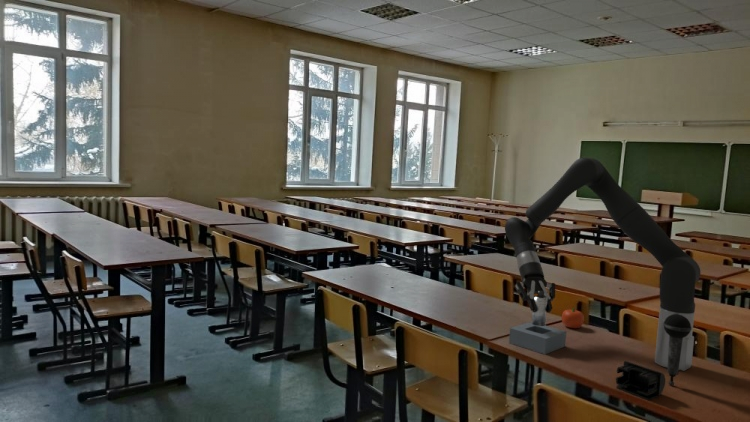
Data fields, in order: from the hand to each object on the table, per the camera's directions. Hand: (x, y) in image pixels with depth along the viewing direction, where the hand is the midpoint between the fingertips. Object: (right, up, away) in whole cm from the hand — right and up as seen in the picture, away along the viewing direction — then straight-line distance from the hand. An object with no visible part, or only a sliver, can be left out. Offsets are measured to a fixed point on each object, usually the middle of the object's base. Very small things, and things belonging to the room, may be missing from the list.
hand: (542, 311), depth 177 cm
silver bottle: (-1, -5, +2) cm, 5 cm away
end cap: (+16, -16, -32) cm, 39 cm away
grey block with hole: (-1, -12, +3) cm, 12 cm away
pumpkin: (+19, -11, +25) cm, 33 cm away
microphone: (+27, -16, -27) cm, 41 cm away
